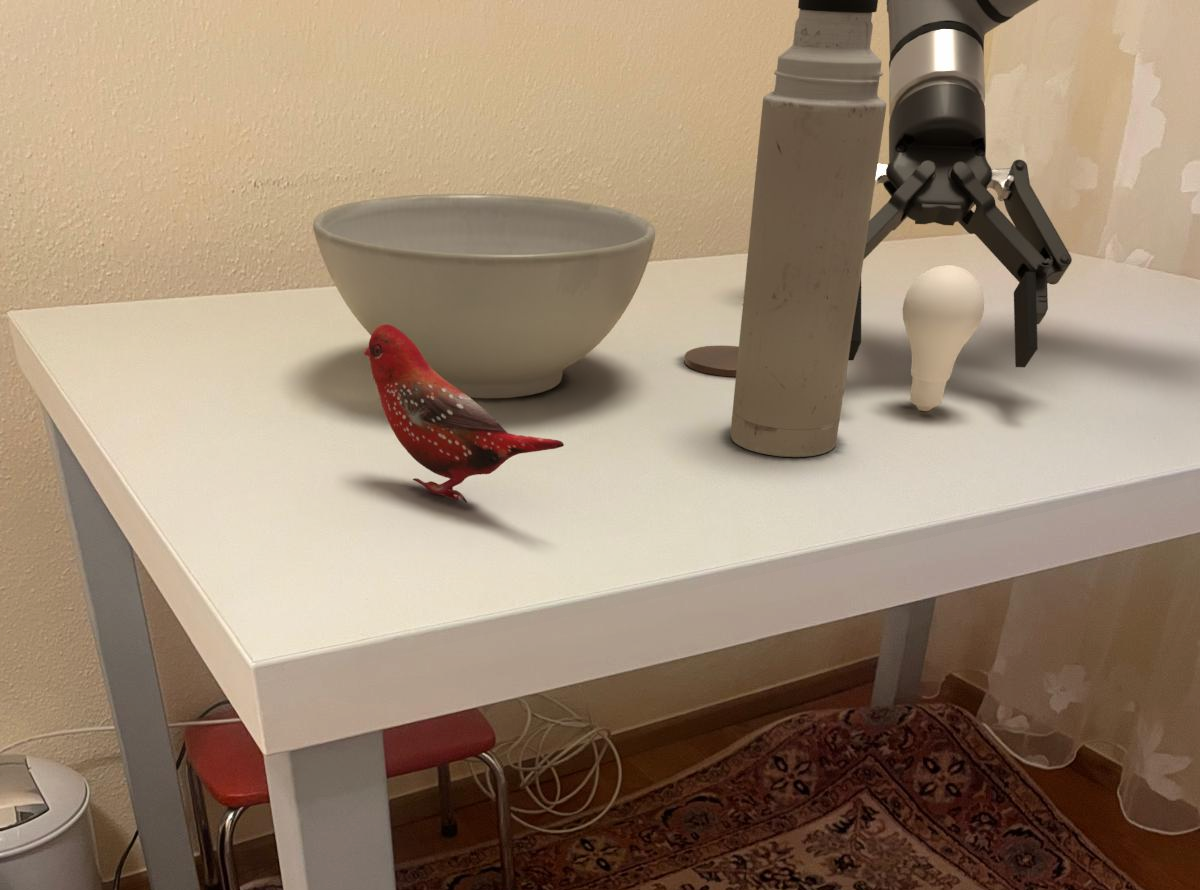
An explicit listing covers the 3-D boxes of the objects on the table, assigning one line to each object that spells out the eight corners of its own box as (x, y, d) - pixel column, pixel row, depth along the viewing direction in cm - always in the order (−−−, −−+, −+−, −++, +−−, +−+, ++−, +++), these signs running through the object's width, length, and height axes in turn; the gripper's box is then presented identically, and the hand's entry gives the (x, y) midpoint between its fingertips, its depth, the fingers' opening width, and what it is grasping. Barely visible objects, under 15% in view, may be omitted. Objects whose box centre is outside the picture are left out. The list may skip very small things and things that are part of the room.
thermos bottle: (708, 434, 90) (747, -11, 74) (780, 416, 95) (832, -9, 79) (785, 465, 86) (844, -6, 69) (857, 444, 90) (929, -3, 74)
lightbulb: (900, 395, 101) (925, 254, 94) (971, 408, 98) (1001, 265, 92) (875, 412, 96) (899, 266, 90) (948, 427, 94) (979, 278, 88)
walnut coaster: (788, 362, 108) (789, 355, 108) (748, 382, 102) (749, 375, 102) (710, 347, 111) (711, 340, 111) (668, 365, 106) (668, 358, 105)
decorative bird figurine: (389, 464, 83) (379, 313, 77) (578, 537, 74) (582, 371, 68) (357, 475, 81) (343, 321, 75) (546, 550, 72) (547, 381, 66)
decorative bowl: (705, 373, 104) (717, 221, 97) (518, 452, 86) (517, 272, 79) (467, 321, 116) (463, 183, 109) (258, 382, 98) (237, 220, 91)
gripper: (1071, 152, 100) (1079, 385, 97) (775, 140, 100) (772, 373, 97) (1109, 84, 93) (1120, 334, 89) (790, 71, 93) (787, 320, 89)
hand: (939, 355), depth 93 cm, fingers open, 13 cm apart
